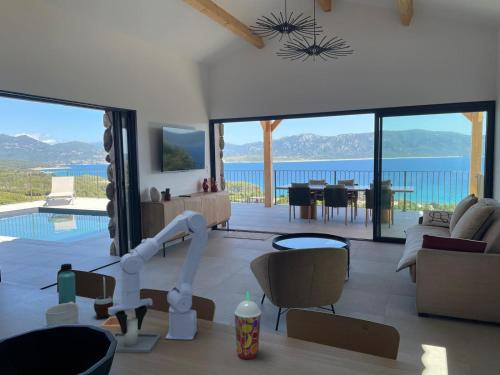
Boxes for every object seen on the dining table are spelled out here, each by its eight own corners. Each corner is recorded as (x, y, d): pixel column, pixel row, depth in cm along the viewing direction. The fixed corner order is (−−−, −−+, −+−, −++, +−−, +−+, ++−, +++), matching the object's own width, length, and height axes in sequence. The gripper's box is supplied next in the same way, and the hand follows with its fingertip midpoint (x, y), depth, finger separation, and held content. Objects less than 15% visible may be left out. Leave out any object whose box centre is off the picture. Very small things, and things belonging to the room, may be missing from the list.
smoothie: (235, 348, 124) (235, 287, 123) (260, 348, 124) (261, 288, 123) (233, 361, 116) (233, 296, 115) (260, 361, 116) (261, 296, 115)
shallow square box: (132, 325, 143) (132, 317, 143) (123, 334, 134) (123, 326, 134) (110, 324, 143) (110, 316, 143) (99, 334, 135) (99, 325, 135)
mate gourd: (102, 322, 145) (101, 283, 145) (88, 318, 149) (88, 280, 149) (117, 316, 152) (117, 279, 151) (104, 312, 156) (104, 276, 155)
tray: (160, 338, 132) (160, 333, 132) (149, 354, 120) (149, 349, 120) (115, 336, 133) (115, 332, 133) (99, 352, 121) (99, 348, 121)
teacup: (65, 336, 133) (65, 313, 133) (38, 333, 135) (38, 311, 135) (89, 321, 147) (89, 300, 146) (65, 318, 149) (64, 298, 149)
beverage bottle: (79, 311, 156) (78, 263, 156) (64, 316, 151) (63, 266, 150) (70, 308, 160) (69, 261, 159) (54, 313, 154) (54, 264, 154)
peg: (139, 341, 128) (139, 317, 128) (134, 346, 124) (135, 322, 124) (127, 340, 128) (128, 316, 128) (122, 345, 124) (123, 321, 124)
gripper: (145, 283, 133) (145, 321, 134) (104, 292, 124) (104, 333, 124) (155, 288, 128) (155, 327, 129) (112, 297, 118) (113, 340, 119)
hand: (131, 330), depth 126 cm, fingers open, 4 cm apart
